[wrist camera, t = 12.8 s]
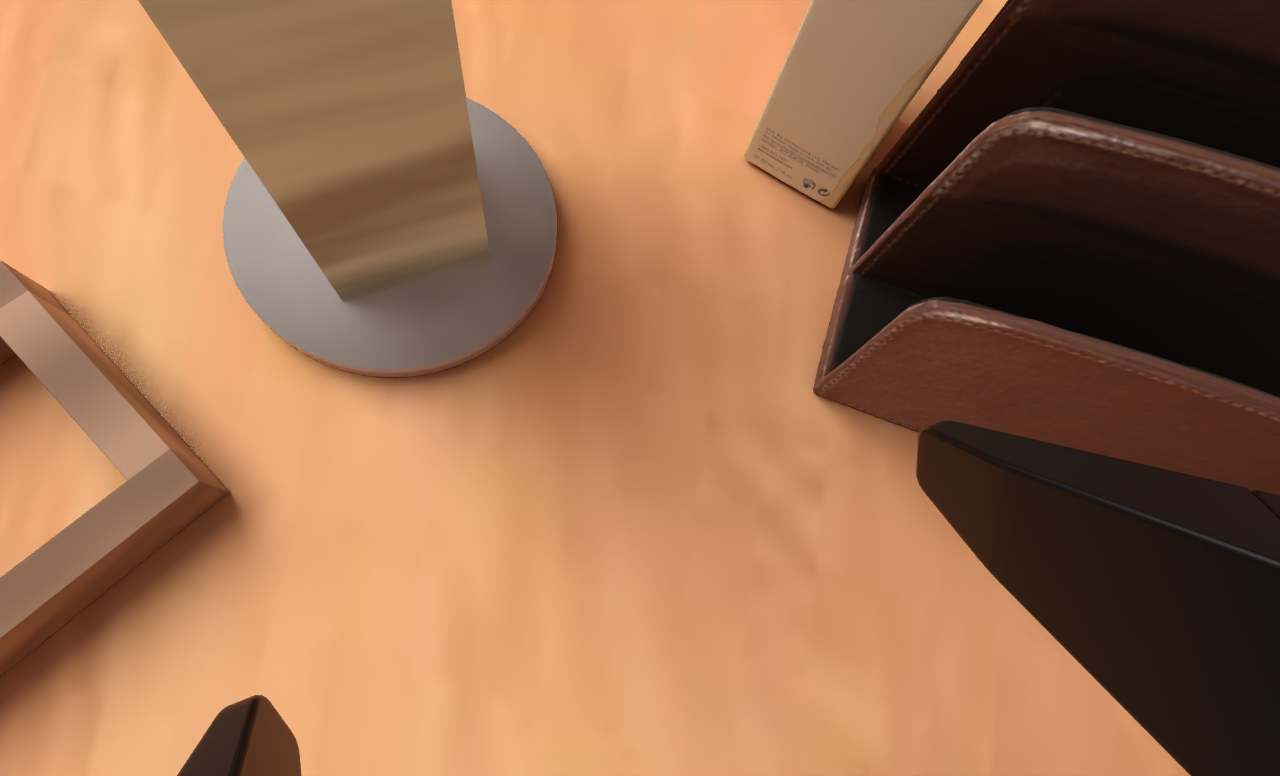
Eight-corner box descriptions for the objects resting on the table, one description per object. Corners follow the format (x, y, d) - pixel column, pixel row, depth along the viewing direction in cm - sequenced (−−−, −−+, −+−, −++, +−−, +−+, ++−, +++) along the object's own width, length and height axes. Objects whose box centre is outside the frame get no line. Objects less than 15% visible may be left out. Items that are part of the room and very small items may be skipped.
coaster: (590, 336, 24) (593, 326, 23) (261, 412, 22) (248, 404, 21) (516, 83, 27) (515, 64, 26) (215, 127, 25) (202, 108, 24)
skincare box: (831, 214, 27) (1045, -68, 16) (735, 157, 27) (877, -162, 16) (892, 108, 29) (1122, -212, 18) (803, 56, 29) (972, -294, 18)
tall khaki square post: (490, 259, 23) (433, -112, 11) (342, 301, 22) (97, -61, 10) (446, 140, 25) (351, -317, 12) (303, 174, 23) (39, -293, 11)
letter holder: (862, 178, 28) (1153, -200, 15) (1300, 344, 29) (1959, 124, 15) (805, 396, 25) (1109, 165, 12) (1299, 576, 26) (2128, 555, 12)
